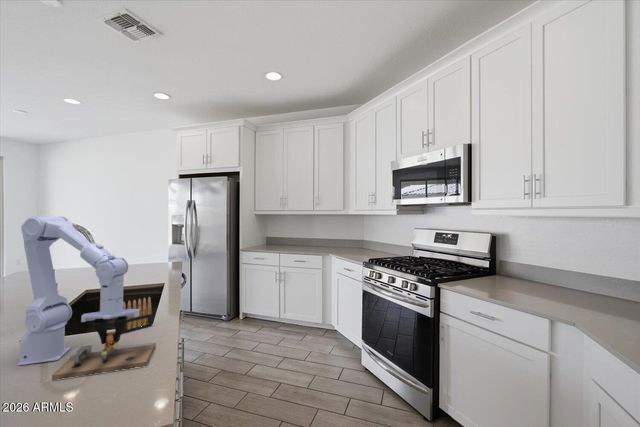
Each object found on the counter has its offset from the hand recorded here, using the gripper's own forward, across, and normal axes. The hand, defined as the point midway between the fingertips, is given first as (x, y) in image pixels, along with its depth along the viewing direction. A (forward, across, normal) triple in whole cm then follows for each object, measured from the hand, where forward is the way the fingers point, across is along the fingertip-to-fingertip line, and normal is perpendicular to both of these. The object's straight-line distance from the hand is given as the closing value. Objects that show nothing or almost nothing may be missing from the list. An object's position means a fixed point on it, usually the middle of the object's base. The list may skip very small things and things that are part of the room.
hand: (110, 341), depth 87 cm
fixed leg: (+4, -7, -2) cm, 8 cm away
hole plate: (+5, 0, -2) cm, 6 cm away
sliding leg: (+4, 0, -2) cm, 4 cm away
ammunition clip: (+6, +1, +24) cm, 25 cm away
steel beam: (+4, 0, +1) cm, 4 cm away
